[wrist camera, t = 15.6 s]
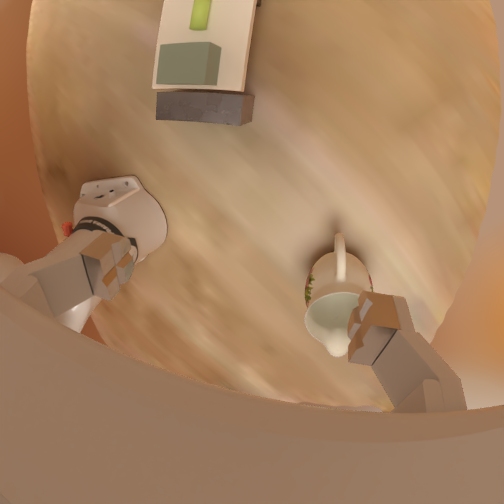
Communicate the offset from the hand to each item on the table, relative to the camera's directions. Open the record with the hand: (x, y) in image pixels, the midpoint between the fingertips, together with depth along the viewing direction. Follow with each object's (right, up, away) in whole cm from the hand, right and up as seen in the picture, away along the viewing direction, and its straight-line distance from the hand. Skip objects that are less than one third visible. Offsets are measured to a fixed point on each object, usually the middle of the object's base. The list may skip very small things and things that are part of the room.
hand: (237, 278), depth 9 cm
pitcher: (+16, -1, +38) cm, 41 cm away
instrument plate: (-5, +30, +15) cm, 34 cm away
